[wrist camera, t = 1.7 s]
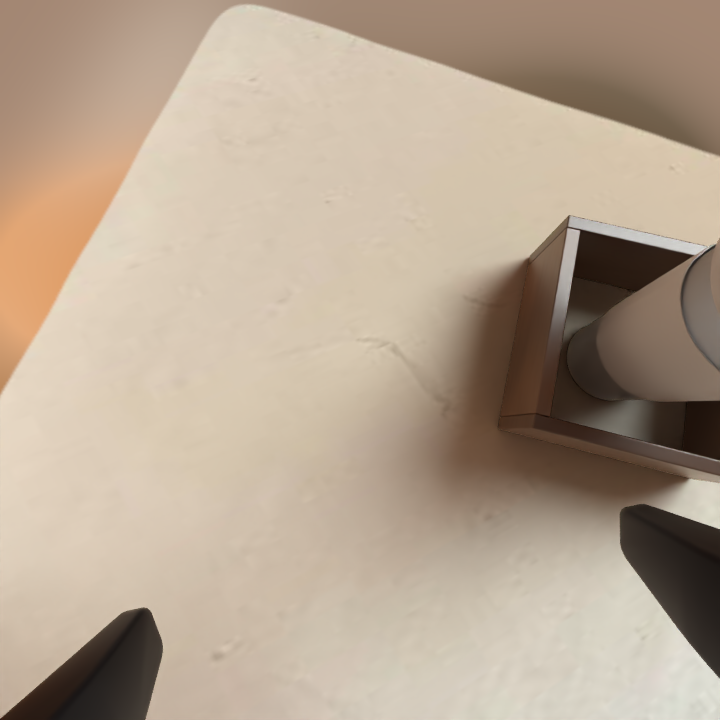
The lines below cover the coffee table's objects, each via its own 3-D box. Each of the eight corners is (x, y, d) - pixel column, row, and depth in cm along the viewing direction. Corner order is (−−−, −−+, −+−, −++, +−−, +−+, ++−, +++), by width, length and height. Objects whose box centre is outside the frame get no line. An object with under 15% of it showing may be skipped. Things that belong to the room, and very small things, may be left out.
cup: (684, 341, 22) (1051, 240, 10) (642, 442, 21) (998, 456, 9) (572, 285, 23) (798, 130, 11) (526, 380, 22) (721, 320, 10)
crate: (691, 479, 21) (781, 492, 16) (497, 428, 21) (532, 428, 17) (708, 297, 23) (792, 264, 18) (529, 255, 23) (568, 214, 19)
